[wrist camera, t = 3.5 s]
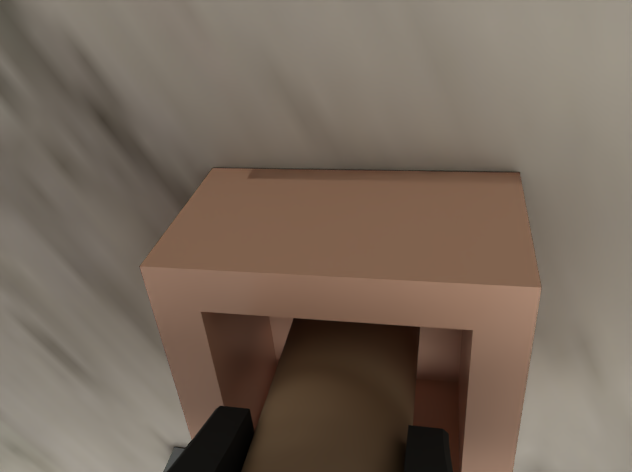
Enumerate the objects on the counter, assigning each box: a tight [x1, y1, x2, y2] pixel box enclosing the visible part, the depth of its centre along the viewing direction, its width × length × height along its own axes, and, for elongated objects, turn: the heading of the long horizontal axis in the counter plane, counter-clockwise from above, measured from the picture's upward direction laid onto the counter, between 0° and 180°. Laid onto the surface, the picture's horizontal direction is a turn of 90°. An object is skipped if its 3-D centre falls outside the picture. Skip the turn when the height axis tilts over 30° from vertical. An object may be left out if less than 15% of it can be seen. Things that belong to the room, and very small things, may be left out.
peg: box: [241, 318, 420, 472], centre depth 12 cm, size 3×3×8 cm
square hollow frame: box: [139, 168, 541, 472], centre depth 14 cm, size 7×7×4 cm
